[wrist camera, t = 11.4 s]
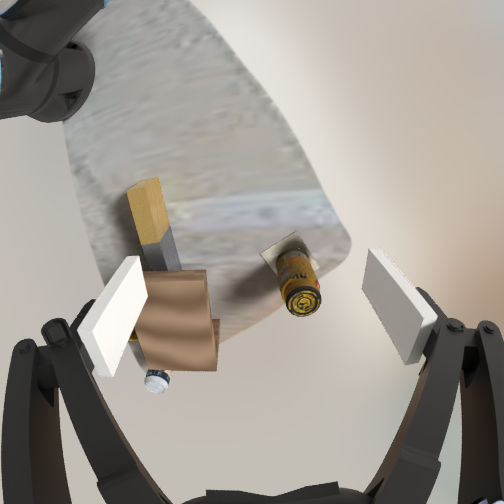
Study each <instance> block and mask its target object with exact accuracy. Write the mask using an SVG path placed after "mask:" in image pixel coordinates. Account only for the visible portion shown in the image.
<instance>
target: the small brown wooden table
mask: <svg viewBox="0 0 504 504" xmlns="http://www.w3.org/2000/svg"><path fill="white" fill-rule="evenodd" d="M142 272H143V277H144V281H145V286H146V290H147V294H148V297H147V299H146V302H145V304H144V306H143V308H142V310H141V313H140V315H139V317H138V319H137V322H136V324H135V326H134V328H135V331H136V334H137V337H138V340H139V343H140V346H141V348H142V351H143V354H144V357H145V360H146V362H147V365H148V368H149V369H153V370H172V371H217V358H218V346H219V336H220V319H212V316H211V309H210V301H209V293H208V285H207V276H206V270H180V271H142Z"/></svg>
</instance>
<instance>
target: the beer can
mask: <svg viewBox="0 0 504 504" xmlns="http://www.w3.org/2000/svg"><path fill="white" fill-rule="evenodd" d="M171 372H172V370H153V369H149V368H148V371H147V374H146V378H145V380H144V382H145V386H146V387H147V389H148V390H149V391H151V392H153V393H158V394H160V393H163V392H164V391H166V390H167V389H168V385H169V381H170V376H171Z"/></svg>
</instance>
